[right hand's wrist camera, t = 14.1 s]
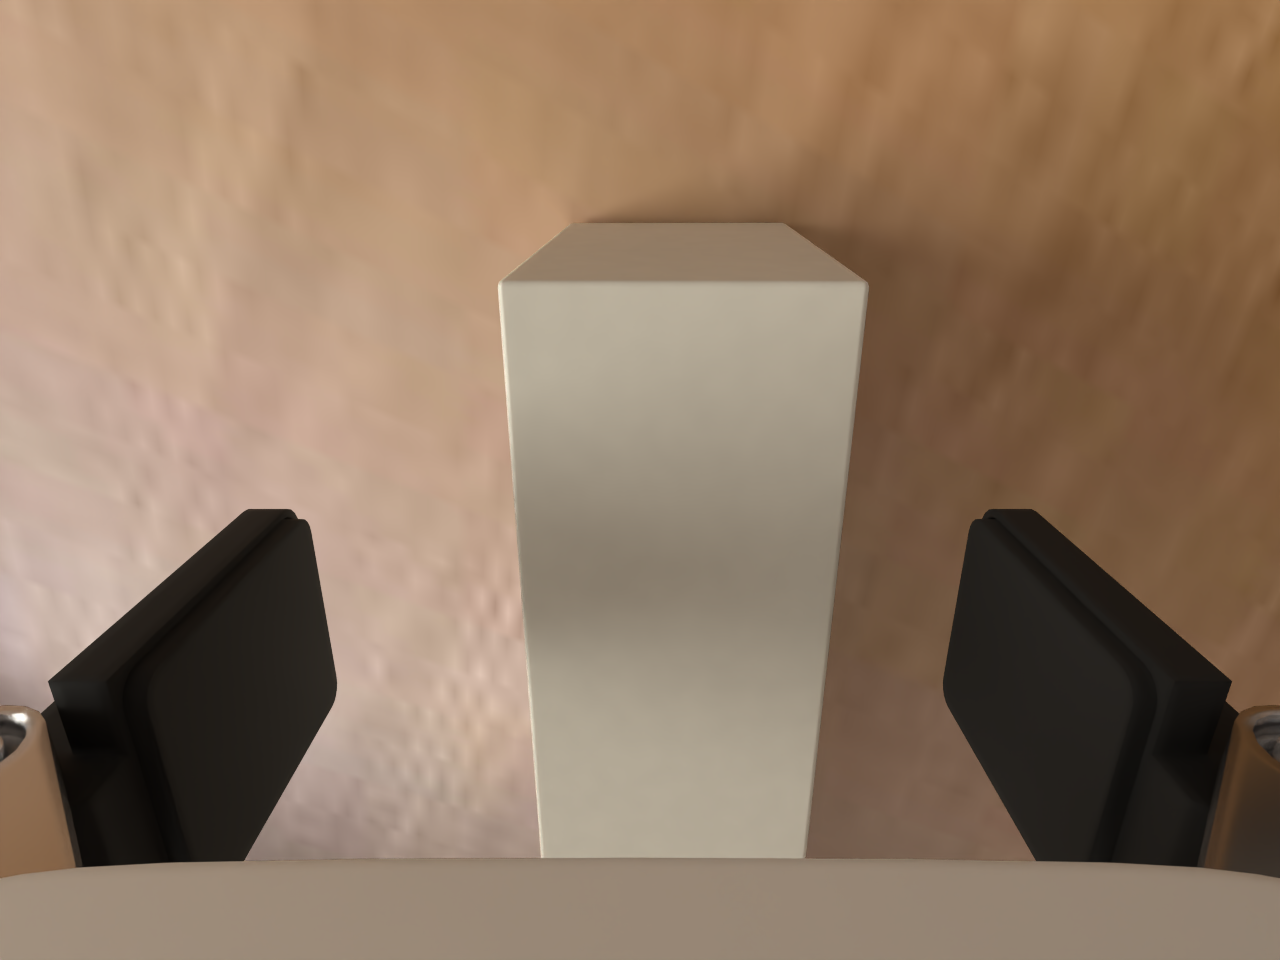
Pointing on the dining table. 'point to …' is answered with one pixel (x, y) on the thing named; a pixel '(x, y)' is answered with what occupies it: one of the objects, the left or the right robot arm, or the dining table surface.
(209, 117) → the dining table surface
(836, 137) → the dining table surface
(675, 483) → the beam
